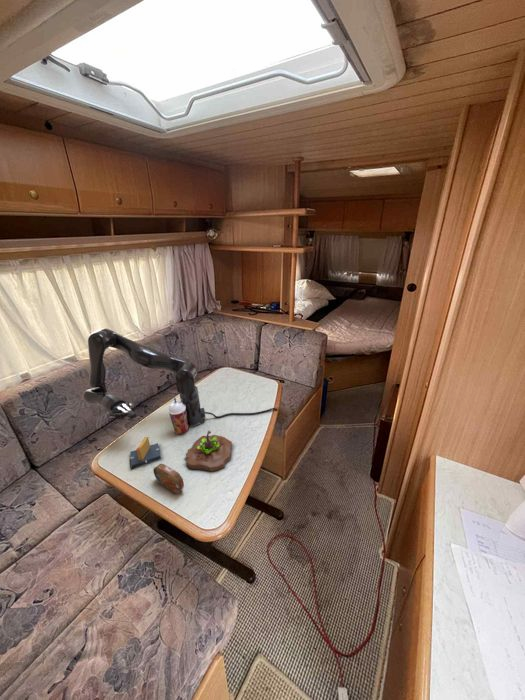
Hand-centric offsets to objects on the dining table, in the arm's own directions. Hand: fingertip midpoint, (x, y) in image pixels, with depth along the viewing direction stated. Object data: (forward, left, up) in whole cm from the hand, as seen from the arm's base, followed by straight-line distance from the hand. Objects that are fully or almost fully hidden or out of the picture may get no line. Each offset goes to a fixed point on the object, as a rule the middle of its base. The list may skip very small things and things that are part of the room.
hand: (134, 416), depth 122 cm
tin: (-14, +26, -18) cm, 35 cm away
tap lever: (-2, +7, -16) cm, 18 cm away
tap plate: (-2, +7, -18) cm, 19 cm away
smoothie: (-18, -7, -18) cm, 26 cm away
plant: (-31, +13, -18) cm, 38 cm away
